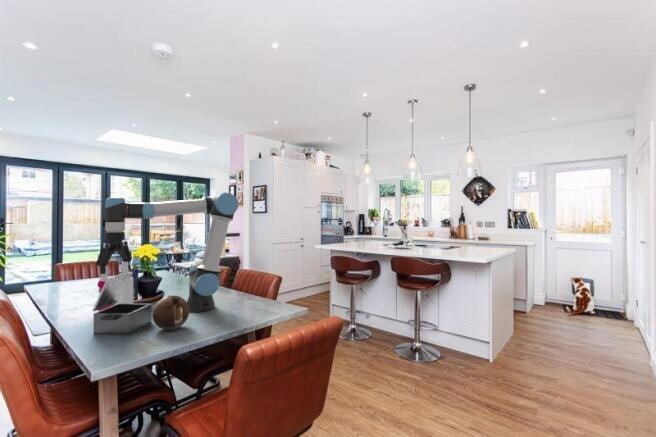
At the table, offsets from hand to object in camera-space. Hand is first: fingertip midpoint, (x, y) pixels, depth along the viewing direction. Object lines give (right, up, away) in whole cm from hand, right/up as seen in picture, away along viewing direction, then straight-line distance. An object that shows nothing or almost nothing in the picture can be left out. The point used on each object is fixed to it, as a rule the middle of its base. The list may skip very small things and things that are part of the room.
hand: (115, 278), depth 148 cm
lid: (0, -6, 0) cm, 6 cm away
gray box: (+4, -23, 0) cm, 23 cm away
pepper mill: (-19, -23, +21) cm, 36 cm away
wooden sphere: (+26, -23, -1) cm, 35 cm away
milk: (-8, -23, +19) cm, 31 cm away
